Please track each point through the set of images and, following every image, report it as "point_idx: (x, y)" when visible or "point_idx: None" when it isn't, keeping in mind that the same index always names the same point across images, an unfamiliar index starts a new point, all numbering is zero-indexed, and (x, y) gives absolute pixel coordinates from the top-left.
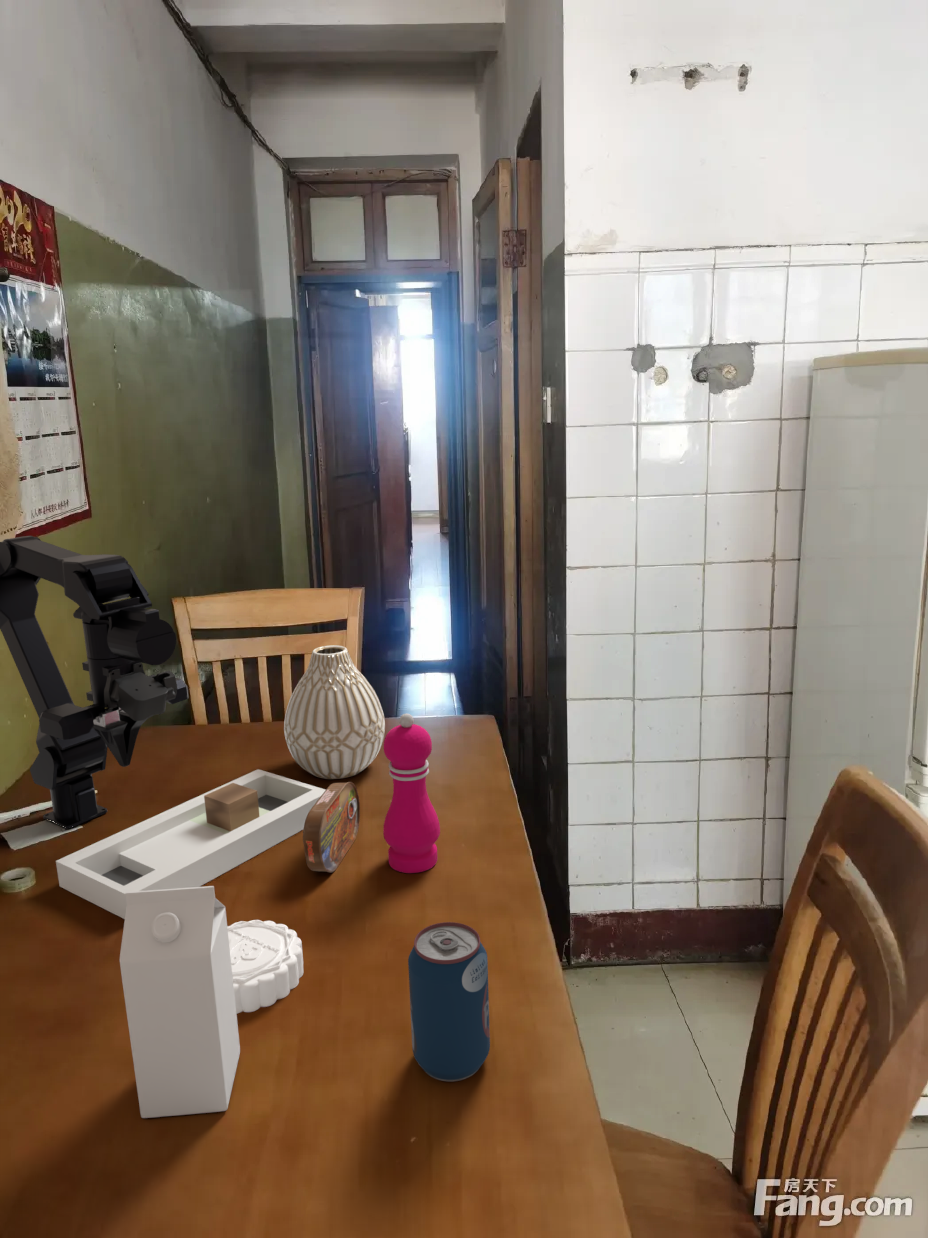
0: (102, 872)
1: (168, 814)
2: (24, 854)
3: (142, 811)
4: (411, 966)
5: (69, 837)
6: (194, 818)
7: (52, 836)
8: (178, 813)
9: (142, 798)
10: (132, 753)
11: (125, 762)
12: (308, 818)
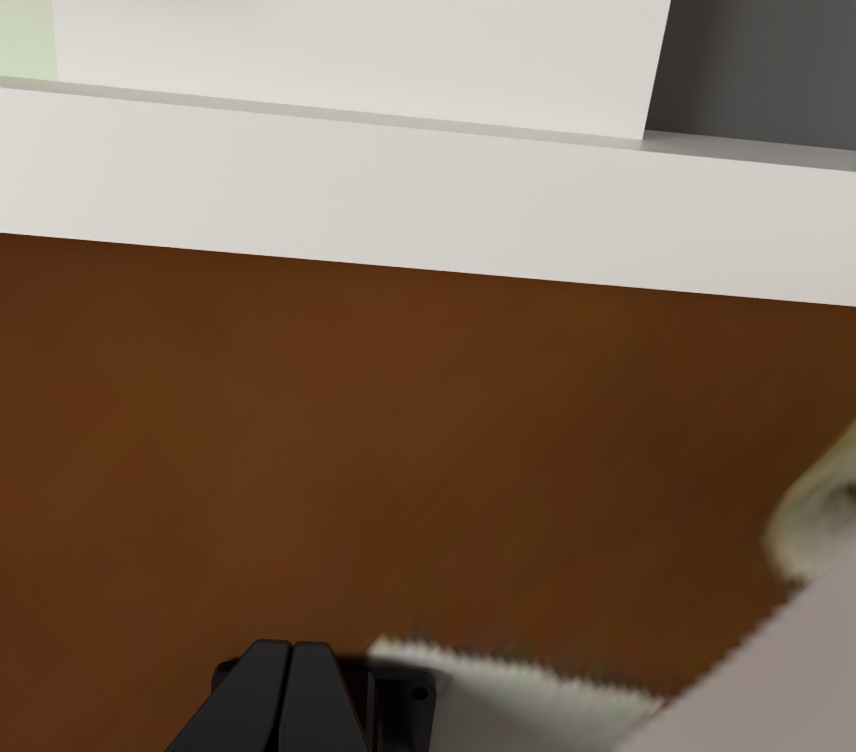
0: (743, 140)
1: (164, 180)
2: (680, 643)
3: (100, 541)
4: None
5: (480, 613)
6: (14, 67)
7: (507, 676)
8: (106, 120)
9: (10, 646)
10: (182, 733)
11: (311, 675)
12: None
